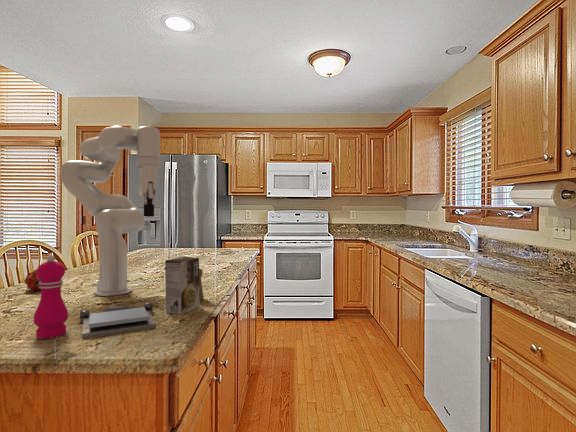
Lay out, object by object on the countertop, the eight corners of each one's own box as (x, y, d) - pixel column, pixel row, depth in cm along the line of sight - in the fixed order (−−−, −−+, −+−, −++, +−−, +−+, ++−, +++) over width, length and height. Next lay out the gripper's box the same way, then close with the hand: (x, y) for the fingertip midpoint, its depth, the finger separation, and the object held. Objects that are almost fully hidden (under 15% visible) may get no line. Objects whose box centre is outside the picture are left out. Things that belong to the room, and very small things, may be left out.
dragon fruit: (42, 290, 143) (40, 300, 133) (20, 280, 138) (17, 290, 128) (56, 272, 145) (55, 282, 135) (35, 262, 140) (33, 271, 130)
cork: (199, 302, 119) (199, 270, 119) (182, 301, 120) (182, 269, 120) (206, 297, 125) (206, 267, 125) (191, 296, 126) (191, 266, 126)
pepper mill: (45, 330, 91) (44, 253, 91) (74, 329, 92) (73, 253, 92) (26, 340, 84) (25, 257, 84) (58, 339, 85) (57, 257, 84)
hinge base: (80, 320, 99) (80, 309, 99) (151, 311, 108) (151, 301, 108) (77, 339, 85) (77, 327, 85) (159, 327, 94) (159, 316, 94)
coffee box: (184, 304, 116) (183, 256, 115) (200, 307, 113) (200, 257, 113) (164, 312, 107) (164, 259, 107) (181, 314, 105) (181, 261, 105)
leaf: (90, 315, 100) (90, 308, 100) (143, 309, 107) (143, 302, 107) (89, 329, 87) (89, 321, 87) (149, 320, 94) (149, 313, 94)
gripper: (134, 165, 126) (135, 216, 126) (139, 160, 113) (139, 217, 113) (157, 166, 130) (157, 216, 130) (163, 161, 116) (163, 216, 117)
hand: (148, 216), depth 122 cm, fingers closed
